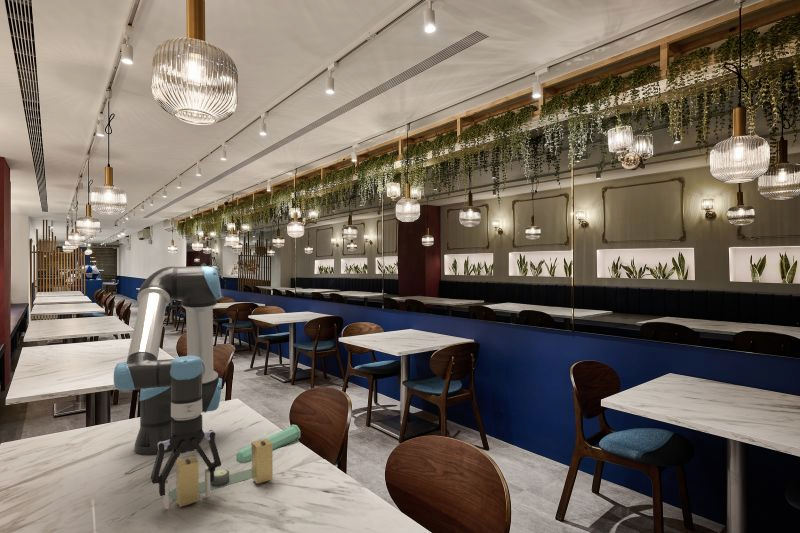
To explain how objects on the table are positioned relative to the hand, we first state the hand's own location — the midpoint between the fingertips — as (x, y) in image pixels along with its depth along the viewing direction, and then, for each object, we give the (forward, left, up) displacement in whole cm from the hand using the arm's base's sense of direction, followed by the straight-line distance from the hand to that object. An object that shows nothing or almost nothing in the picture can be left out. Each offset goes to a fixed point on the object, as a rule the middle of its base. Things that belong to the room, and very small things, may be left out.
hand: (187, 500), depth 117 cm
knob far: (0, +20, -1) cm, 20 cm away
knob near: (0, 0, -1) cm, 1 cm away
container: (-22, +30, -3) cm, 37 cm away
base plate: (-4, +10, -2) cm, 11 cm away
